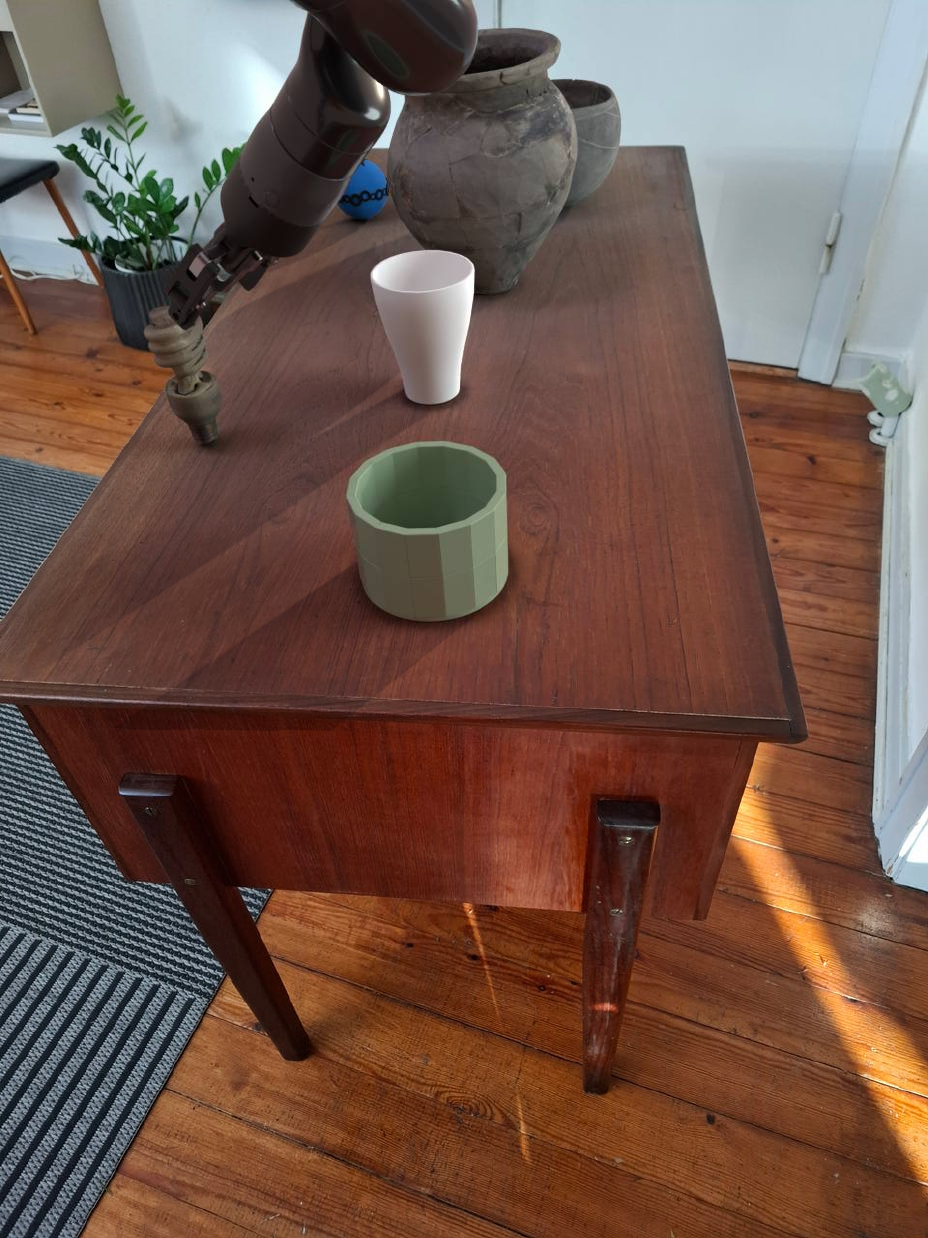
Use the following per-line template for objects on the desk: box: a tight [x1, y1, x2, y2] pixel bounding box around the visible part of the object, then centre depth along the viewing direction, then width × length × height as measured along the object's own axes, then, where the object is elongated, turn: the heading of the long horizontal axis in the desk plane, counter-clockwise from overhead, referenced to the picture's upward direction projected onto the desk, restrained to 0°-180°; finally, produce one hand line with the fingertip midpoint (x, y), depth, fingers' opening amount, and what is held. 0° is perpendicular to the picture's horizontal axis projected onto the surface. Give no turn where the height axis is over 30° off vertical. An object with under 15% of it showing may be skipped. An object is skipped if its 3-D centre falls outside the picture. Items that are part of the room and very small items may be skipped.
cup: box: [370, 249, 475, 406], centre depth 94 cm, size 10×10×14 cm
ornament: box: [336, 158, 390, 221], centre depth 135 cm, size 9×9×10 cm
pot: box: [345, 440, 509, 623], centre depth 74 cm, size 13×13×9 cm
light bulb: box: [143, 304, 223, 447], centre depth 88 cm, size 6×6×15 cm
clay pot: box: [386, 27, 578, 296], centre depth 107 cm, size 23×25×30 cm
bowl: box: [550, 78, 622, 209], centre depth 134 cm, size 21×21×15 cm
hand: (211, 300), depth 80 cm, fingers open, 8 cm apart
